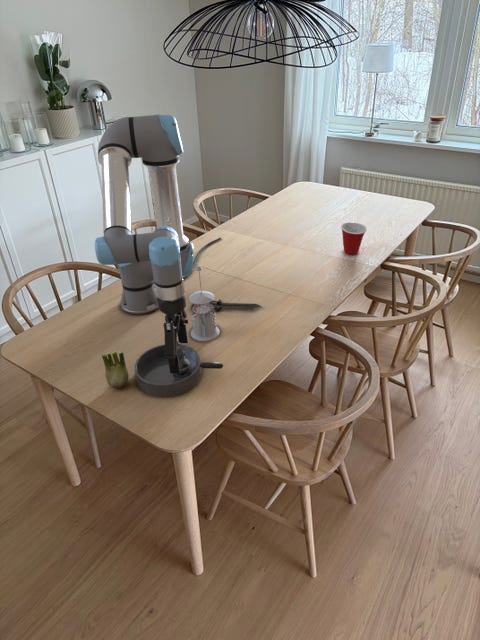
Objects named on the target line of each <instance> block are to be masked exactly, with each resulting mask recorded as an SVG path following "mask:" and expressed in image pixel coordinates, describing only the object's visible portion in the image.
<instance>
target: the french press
mask: <svg viewBox="0 0 480 640" xmlns="http://www.w3.org/2000/svg"><path fill="white" fill-rule="evenodd" d="M202 270H203V268H202V266H201V265H197V266H196V267H195V271H197V272H198V276H199V279H201V271H202ZM199 286H200V289H202V281H201V280H199ZM214 299H215V294H214V293H212V292H211V291H207V290H198V291H194V292H193V293H192V294H190V296H189V297H188V301H189V302H190V303H191V304H192V306H193V304H195V305H194V306H193V307H191V312H190V315H191V322H192V323H191V324H192V329H191V331H190V337H191V338H192V339H193V340H196V341H199V342H208V341H212V340H214V339H217V337H219V335H220V328H219V327H217V317H216V309H214V308H215V307H213V306H214V305H212V304H210V302H211V301H214Z"/></svg>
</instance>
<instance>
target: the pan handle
mask: <svg viewBox="0 0 480 640" xmlns="http://www.w3.org/2000/svg"><path fill="white" fill-rule="evenodd" d="M200 367H201V369H208V370H209V369H211V370H214V369H215V370H217V369H218V370H219V369H223V367H224V363H222V362H219V361H218V362H214V361H213V362H212V361H211V362H210V361H209V362H208V361H203V362H201V364H200Z"/></svg>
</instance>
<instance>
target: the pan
mask: <svg viewBox="0 0 480 640" xmlns="http://www.w3.org/2000/svg"><path fill="white" fill-rule="evenodd" d="M182 345H183V351H184V352H185V355H184V356H185V358H186V359H188V360H189V361H190V367H189V370H190V372H191V373H190V375H189V376H188V377H186V378H184V379H176V378H174V377H173V373H170V368H169V362H168V359H165V357H164V354H165V343H164V344H160V345H155V346H153V347H151V348H149V349H147V350H146V351H143V353H141V354H140V355H139V357H138V358H137V359H136V361H135V363H134V375H135V380H136V382H137V386H138V387H139V388H140V390H141V391H142V392H144V393H145V394H148V395H150V396H153V397H159V398H168V397H175V396H178V395H182V394H185V393H186V392H188V391H190V390H191V389H192V388H194V387H195V386H196V385H197V384H198V383H199V381H200V380H201V377H202V371H203V370H202V368H201V367H200V364H201V363H202V362H201V361H202V360H201V357H200V354H199V353H198V351H197V350H196V349H194V348H193V347H192V346H189V345H186V344H182Z"/></svg>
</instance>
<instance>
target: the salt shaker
mask: <svg viewBox="0 0 480 640" xmlns="http://www.w3.org/2000/svg"><path fill="white" fill-rule="evenodd" d="M183 345H184V344H183V343H180V342H178V340H177V353H178V359H179V366H180V373H173V377H174V378H176V379H184V378H186V377H188V376H189V375H190V373H191V372H190V370H189V367H190V361H189V360H188V359H186V358H185V356H184V355H185V352H184V351H183Z"/></svg>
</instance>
